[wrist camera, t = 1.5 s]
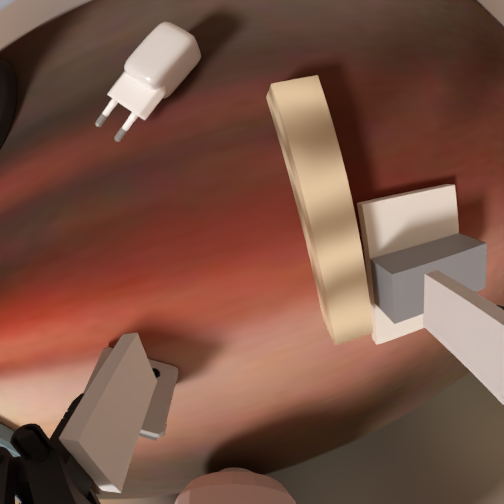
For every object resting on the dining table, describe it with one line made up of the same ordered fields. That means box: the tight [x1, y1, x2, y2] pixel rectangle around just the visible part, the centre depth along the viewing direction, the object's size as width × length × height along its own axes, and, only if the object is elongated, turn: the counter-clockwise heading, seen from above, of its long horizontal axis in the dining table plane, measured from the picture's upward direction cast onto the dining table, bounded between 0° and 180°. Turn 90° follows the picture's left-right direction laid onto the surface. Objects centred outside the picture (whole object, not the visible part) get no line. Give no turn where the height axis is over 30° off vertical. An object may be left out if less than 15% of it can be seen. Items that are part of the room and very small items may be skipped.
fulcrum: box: [357, 184, 487, 345], centre depth 28 cm, size 16×12×6 cm
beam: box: [266, 75, 373, 345], centre depth 27 cm, size 24×4×5 cm, turn 16°
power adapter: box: [95, 22, 201, 142], centre depth 23 cm, size 11×5×6 cm, turn 141°
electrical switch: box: [84, 347, 178, 440], centre depth 29 cm, size 9×5×9 cm, turn 75°
